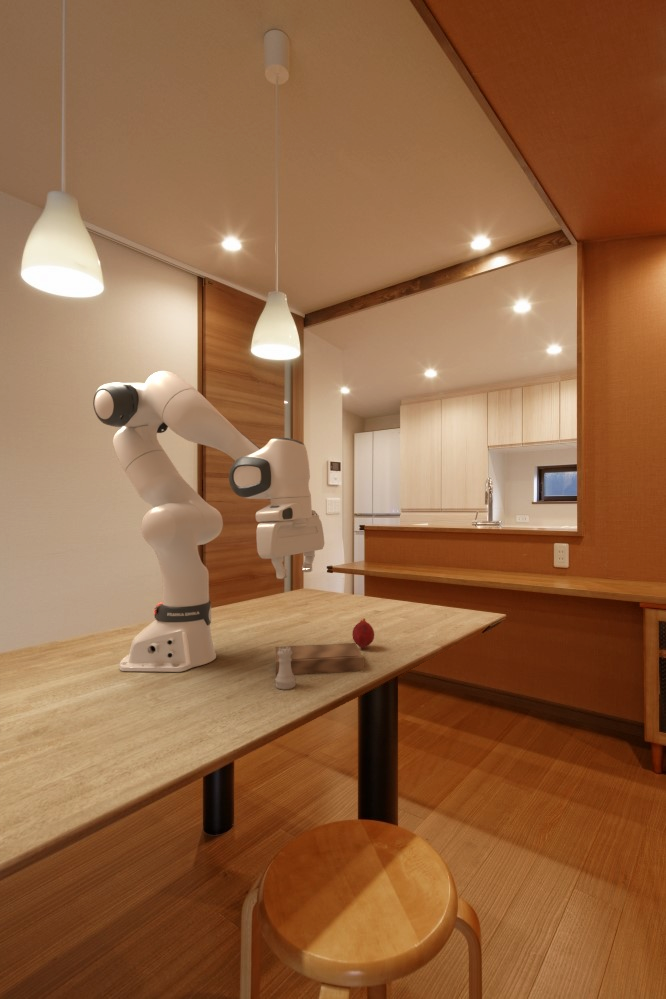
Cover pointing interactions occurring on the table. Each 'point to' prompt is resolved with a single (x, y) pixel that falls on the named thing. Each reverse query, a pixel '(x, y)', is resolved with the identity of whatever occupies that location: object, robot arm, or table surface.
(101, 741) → the table surface
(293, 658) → the walnut board
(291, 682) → the rook chess piece
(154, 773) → the table surface
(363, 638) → the onion
